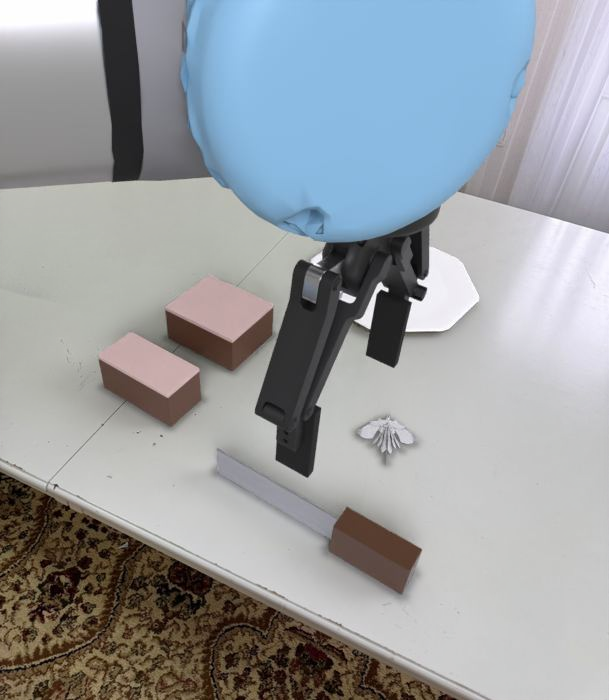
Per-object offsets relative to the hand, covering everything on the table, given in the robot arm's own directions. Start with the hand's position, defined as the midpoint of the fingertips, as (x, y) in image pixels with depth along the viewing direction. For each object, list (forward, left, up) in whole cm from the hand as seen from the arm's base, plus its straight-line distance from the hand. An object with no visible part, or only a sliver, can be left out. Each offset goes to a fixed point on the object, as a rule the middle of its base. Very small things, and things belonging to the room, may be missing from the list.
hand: (341, 407), depth 48 cm
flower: (+21, +2, -27) cm, 35 cm away
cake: (+25, +32, -27) cm, 49 cm away
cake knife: (+5, +4, -27) cm, 27 cm away
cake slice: (+10, +32, -27) cm, 43 cm away
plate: (+53, +17, -27) cm, 62 cm away
